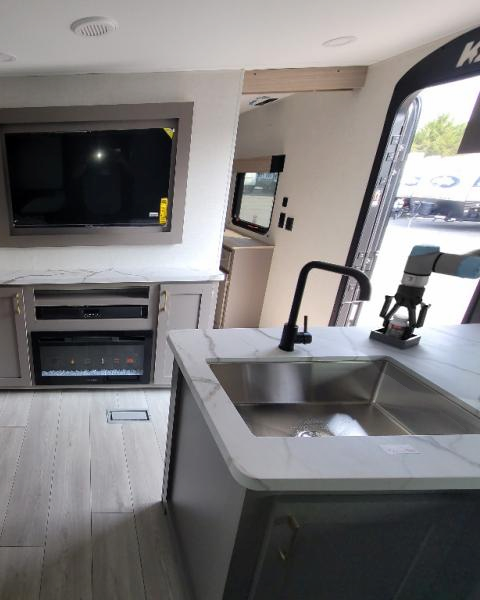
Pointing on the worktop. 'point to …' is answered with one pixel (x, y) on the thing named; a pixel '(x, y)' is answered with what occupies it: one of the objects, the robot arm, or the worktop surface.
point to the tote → (394, 339)
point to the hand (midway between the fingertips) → (394, 337)
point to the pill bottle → (397, 326)
